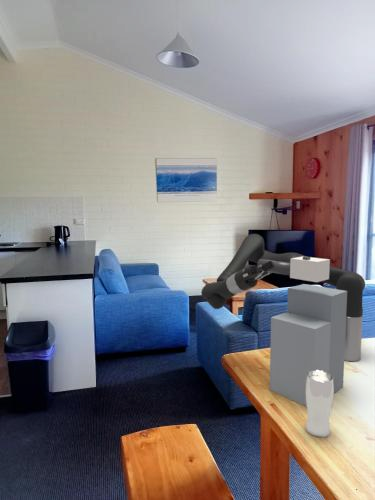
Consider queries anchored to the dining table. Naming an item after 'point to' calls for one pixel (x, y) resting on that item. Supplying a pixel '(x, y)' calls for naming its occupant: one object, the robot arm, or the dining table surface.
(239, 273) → the robot arm
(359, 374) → the dining table surface
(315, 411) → the beer glass
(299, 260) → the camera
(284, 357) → the stepped stand
